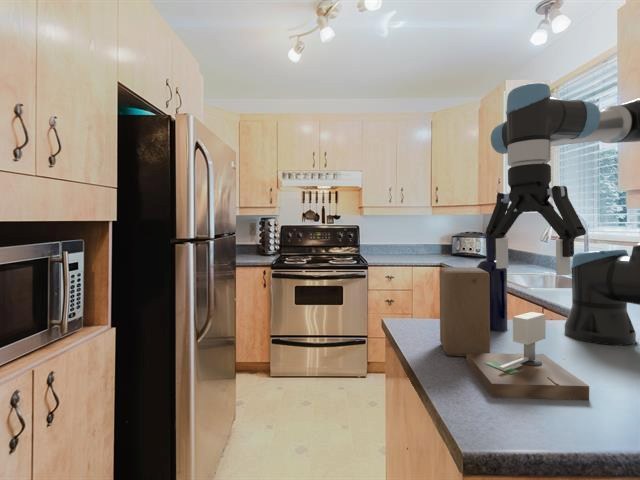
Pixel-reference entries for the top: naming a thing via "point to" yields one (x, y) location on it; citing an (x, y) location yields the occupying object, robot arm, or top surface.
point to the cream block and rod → (527, 335)
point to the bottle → (495, 288)
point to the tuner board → (526, 377)
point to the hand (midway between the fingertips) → (530, 271)
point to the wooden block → (464, 310)
